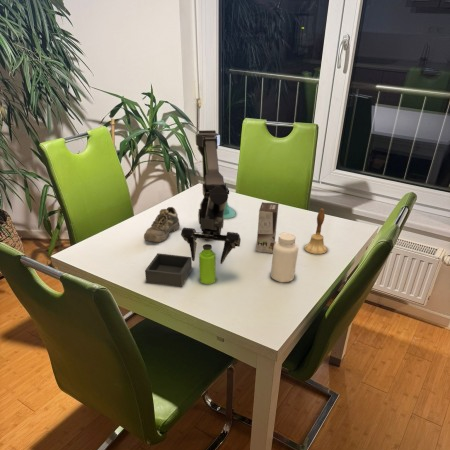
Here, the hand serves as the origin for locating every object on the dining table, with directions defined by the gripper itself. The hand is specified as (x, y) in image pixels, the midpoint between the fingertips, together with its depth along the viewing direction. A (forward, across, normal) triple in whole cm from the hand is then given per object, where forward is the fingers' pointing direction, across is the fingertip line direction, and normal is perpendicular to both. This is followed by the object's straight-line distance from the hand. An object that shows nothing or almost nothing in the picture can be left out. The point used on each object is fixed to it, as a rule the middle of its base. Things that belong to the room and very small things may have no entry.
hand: (206, 262), depth 131 cm
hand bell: (-18, +35, +28) cm, 48 cm away
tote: (+4, -13, +6) cm, 15 cm away
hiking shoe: (-17, -26, +27) cm, 41 cm away
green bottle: (+4, 0, +6) cm, 7 cm away
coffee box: (-16, +16, +26) cm, 34 cm away
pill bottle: (-1, +24, +11) cm, 27 cm away
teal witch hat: (-38, -9, +48) cm, 62 cm away
